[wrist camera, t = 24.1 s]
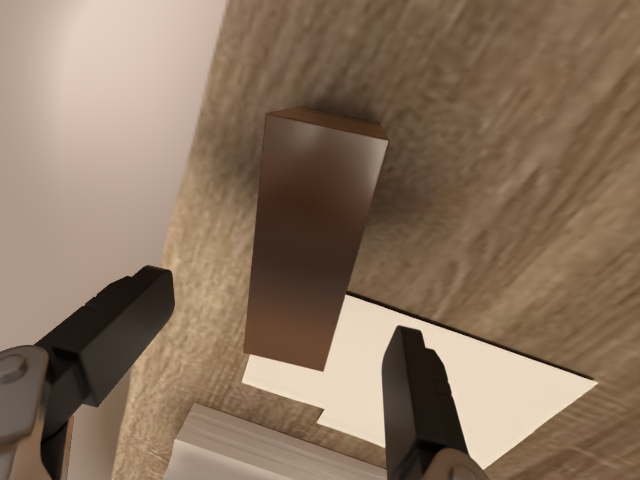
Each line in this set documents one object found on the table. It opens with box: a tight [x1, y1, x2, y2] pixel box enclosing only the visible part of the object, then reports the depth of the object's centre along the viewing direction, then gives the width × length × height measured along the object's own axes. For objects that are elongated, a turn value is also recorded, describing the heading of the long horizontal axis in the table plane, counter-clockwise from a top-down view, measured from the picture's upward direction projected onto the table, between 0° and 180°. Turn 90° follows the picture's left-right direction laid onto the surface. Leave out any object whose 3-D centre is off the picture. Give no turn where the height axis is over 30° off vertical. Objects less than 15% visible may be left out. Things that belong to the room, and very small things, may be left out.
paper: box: [242, 295, 598, 470], centre depth 24 cm, size 25×17×1 cm
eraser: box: [243, 107, 390, 372], centre depth 16 cm, size 12×4×6 cm, turn 169°
